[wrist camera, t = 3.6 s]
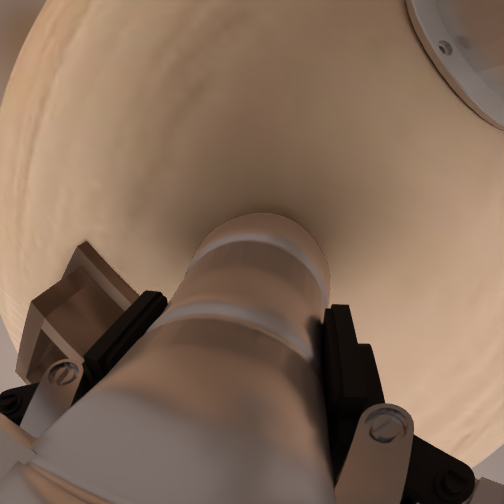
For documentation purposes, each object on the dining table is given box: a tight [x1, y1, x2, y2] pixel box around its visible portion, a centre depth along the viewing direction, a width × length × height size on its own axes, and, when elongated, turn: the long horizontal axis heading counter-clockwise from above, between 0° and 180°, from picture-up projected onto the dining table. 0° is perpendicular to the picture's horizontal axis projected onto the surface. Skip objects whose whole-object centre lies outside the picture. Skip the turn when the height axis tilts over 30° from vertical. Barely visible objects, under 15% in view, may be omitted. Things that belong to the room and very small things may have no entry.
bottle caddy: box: [15, 241, 139, 385], centre depth 18 cm, size 14×14×6 cm
